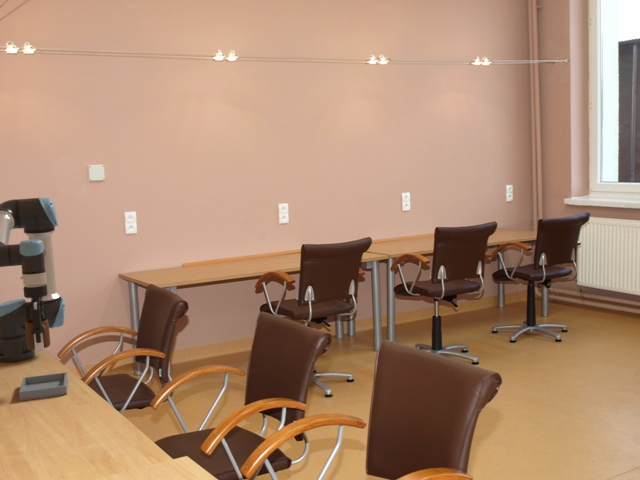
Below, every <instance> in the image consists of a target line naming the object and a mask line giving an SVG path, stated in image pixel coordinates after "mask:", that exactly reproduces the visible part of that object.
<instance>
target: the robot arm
mask: <svg viewBox="0 0 640 480" xmlns="http://www.w3.org/2000/svg"><path fill="white" fill-rule="evenodd" d="M57 216H58V215H57V211H56V207H55V204H54V201H53V199H51V197H33V198H19V199H15V198H14V199H9V200H5V201H3V202H1V203H0V268H4V267H5V268H6V267H17V266H21V275H22V276H20V280H22V284H23V297H25V298H26V299H30V301H27V300H26V299H25V298H15V299H11V300H7V301H4V302H1V303H0V363H12V362H20V361H25V360H27V359H31V358H33V357H34V356H36V353H43V352H45V348H44V344H43V334H42V328H41V318H45V319H48V323H49V329H56V328H60V327H62V326H64V324H65V309H66V299H65V298H63V297H62V294H61V293H60V292H58V290H57V281H56V271H55V269H56V268H55V261H54V249H53V240H52V234H54V232H55V231H56V230H55V229H56V228H55V227H57V226H58V225H59V222H58V217H57ZM15 229H16V230H17V229H20V230H21V229H23V234H25V235H26V236H27V237H28V239H27V240H22V241H20V242H19V243H16V244H15V243H14V244H10V239H11V237H10V236H11V231H12V230H15ZM31 319H32V320H33V331H32V332H31V334H34V342H35V350H32V349H28V347H27V340H26V330H25V322H26V321H28V320H31ZM38 328H39V329H38Z"/></svg>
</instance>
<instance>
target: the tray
mask: <svg viewBox="0 0 640 480" xmlns="http://www.w3.org/2000/svg"><path fill="white" fill-rule="evenodd" d="M68 377H69V376H68V371H64V372H59V373H58V372H57V373H56V372H55V373H50V374H42V375H41V374H40V375H34V376H25V377H23V378H22V380H21V385H20V387H19V391H18V395H19V401H20V402H22V401H28V400H29V401H30V400H35V399H36V400H38V399H43V398H45V399H46V398H49V397H50V398H51V397H58V396H65V395H67V394H68V385H69V378H68Z"/></svg>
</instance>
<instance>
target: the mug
mask: <svg viewBox="0 0 640 480" xmlns="http://www.w3.org/2000/svg"><path fill="white" fill-rule="evenodd" d="M41 328H42V334H43V344H44V349H46V348H49V347H50V345H51V336H50V334H51V333H50V328H49V323H48V319H45V318H41ZM38 329H39V328H38ZM25 330H26V340H27V347H28V349H32V350H35V342H34V334H31V332H32V331H33V320H32V319H31V320H28V321H26V322H25Z"/></svg>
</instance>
